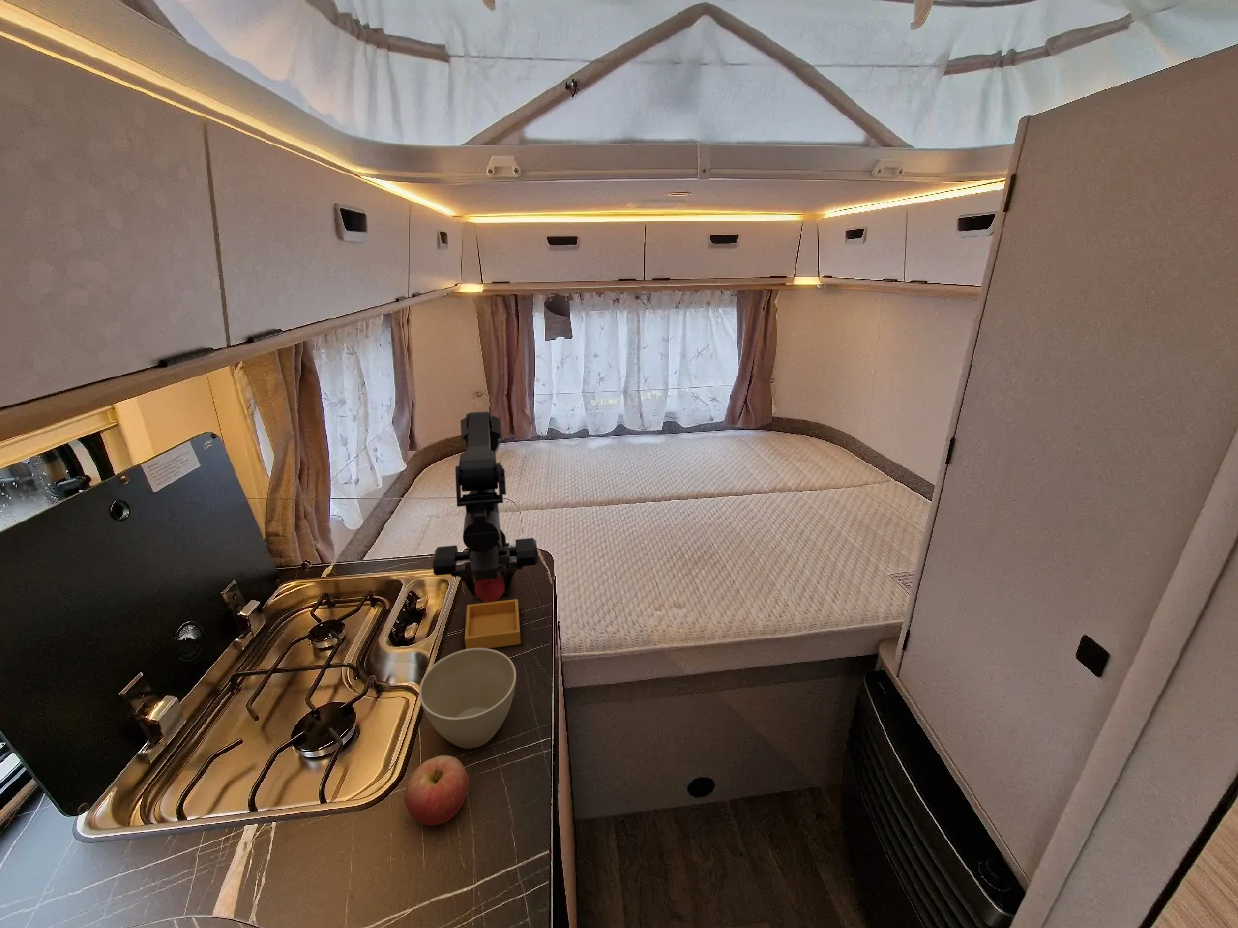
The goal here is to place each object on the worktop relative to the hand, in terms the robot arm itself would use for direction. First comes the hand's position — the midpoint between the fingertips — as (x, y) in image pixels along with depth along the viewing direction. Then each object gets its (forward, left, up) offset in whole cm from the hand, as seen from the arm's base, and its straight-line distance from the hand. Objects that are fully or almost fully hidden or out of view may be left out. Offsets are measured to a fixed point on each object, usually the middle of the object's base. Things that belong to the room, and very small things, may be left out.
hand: (490, 592), depth 100 cm
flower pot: (+23, -3, -9) cm, 25 cm away
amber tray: (0, 0, -9) cm, 9 cm away
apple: (+35, -7, -9) cm, 37 cm away
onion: (0, 0, -2) cm, 2 cm away
